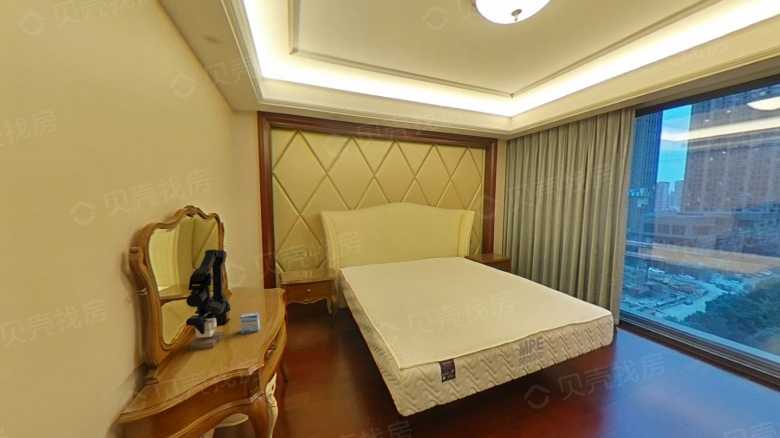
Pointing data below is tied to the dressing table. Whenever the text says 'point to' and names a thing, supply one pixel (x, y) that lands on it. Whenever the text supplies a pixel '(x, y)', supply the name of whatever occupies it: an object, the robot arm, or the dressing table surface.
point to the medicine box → (250, 322)
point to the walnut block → (207, 341)
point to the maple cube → (208, 328)
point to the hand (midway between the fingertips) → (206, 330)
